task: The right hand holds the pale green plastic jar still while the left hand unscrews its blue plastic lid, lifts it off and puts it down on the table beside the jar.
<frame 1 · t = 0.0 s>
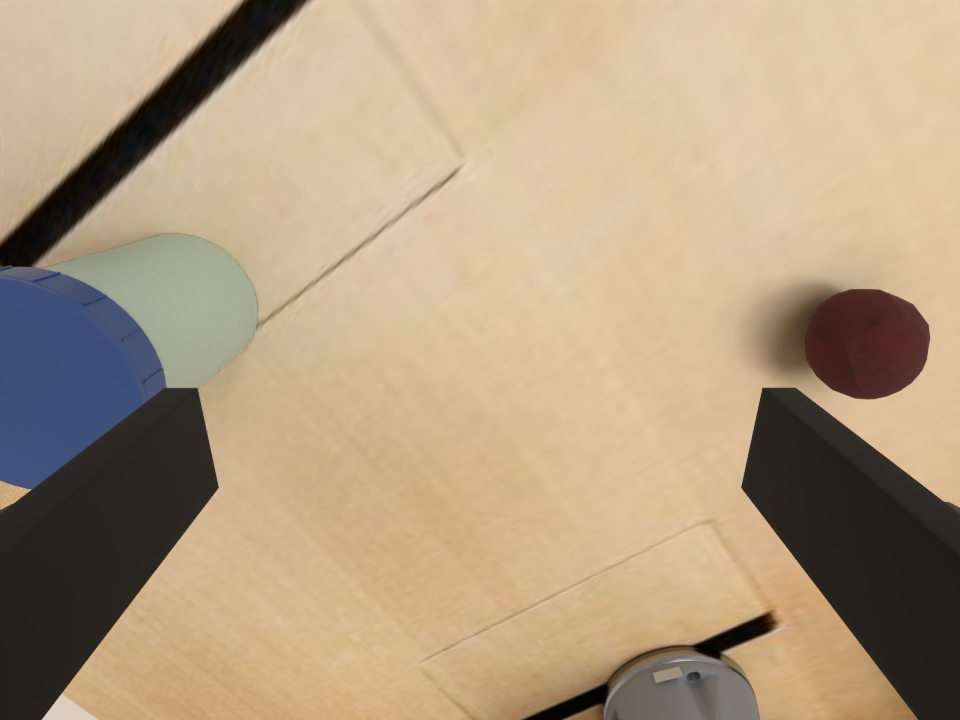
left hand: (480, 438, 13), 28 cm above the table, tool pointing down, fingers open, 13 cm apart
lid: (28, 390, 26), point 16 cm above the table, screwed on, not yet turned
dark red ball: (832, 325, 41), on the table
jar: (189, 302, 40), on the table
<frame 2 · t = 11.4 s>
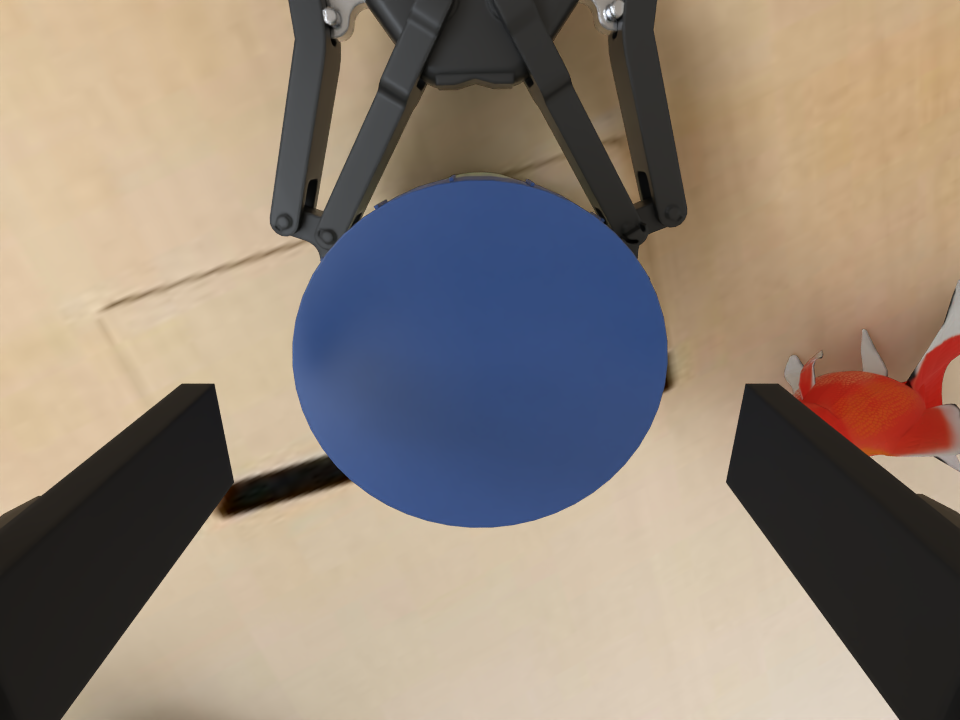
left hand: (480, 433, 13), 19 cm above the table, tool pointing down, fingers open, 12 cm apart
right hand: (481, 376, 27), fingers closed on jar, 10 cm apart
fish: (856, 351, 33), on the table
lid: (480, 371, 17), point 16 cm above the table, screwed on, not yet turned
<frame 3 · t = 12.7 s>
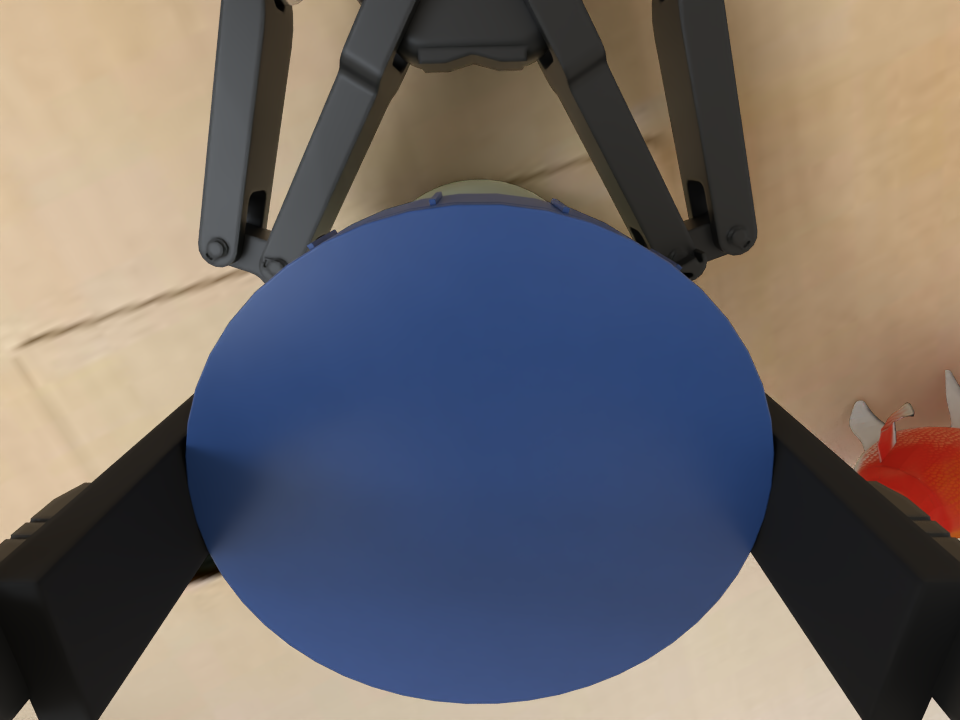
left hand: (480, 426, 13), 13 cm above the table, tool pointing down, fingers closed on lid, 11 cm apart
fish: (935, 395, 27), on the table
lid: (479, 493, 11), point 16 cm above the table, screwed on, not yet turned, touching left hand
jar: (479, 294, 25), on the table, touching right hand
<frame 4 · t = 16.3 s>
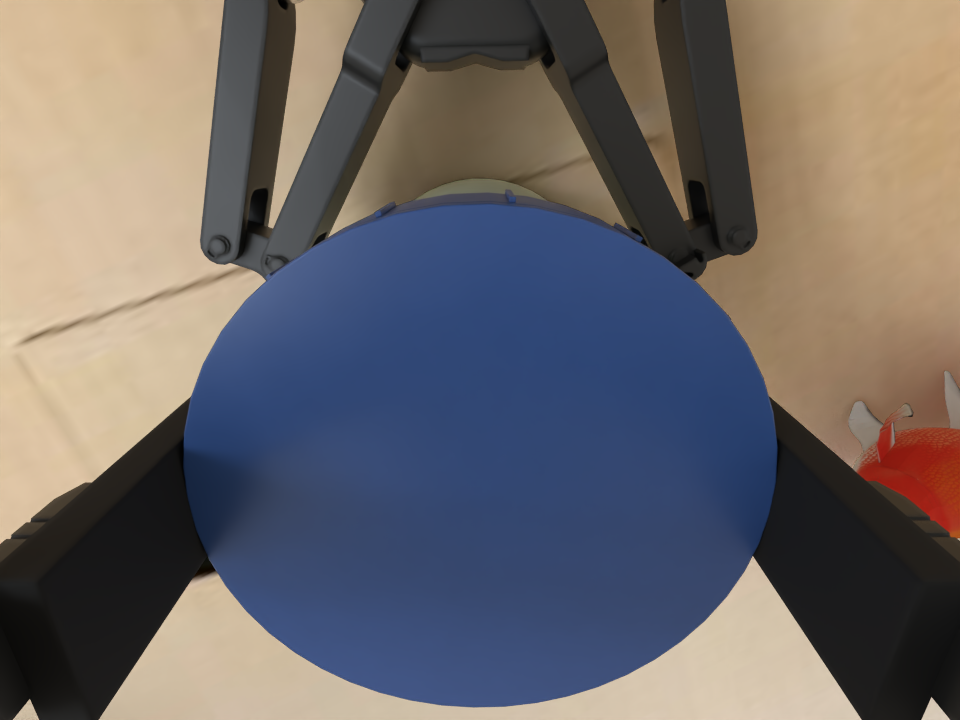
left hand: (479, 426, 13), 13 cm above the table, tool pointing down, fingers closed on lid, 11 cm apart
fish: (934, 396, 27), on the table
lid: (480, 495, 11), point 16 cm above the table, turned 122° so far, risen 0.2 cm, still on its thread, touching left hand
jar: (480, 293, 25), on the table, touching right hand
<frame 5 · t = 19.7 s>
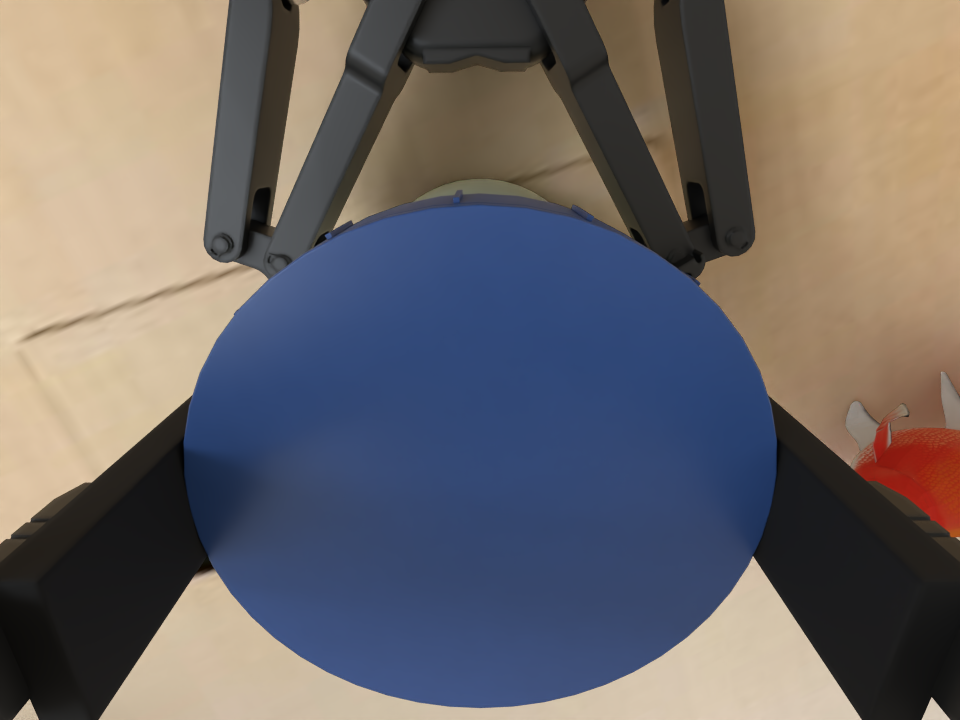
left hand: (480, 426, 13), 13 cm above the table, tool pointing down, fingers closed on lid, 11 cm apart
fish: (931, 397, 27), on the table
lid: (480, 496, 11), point 16 cm above the table, turned 244° so far, risen 0.3 cm, still on its thread, touching left hand
jar: (480, 293, 25), on the table, touching right hand
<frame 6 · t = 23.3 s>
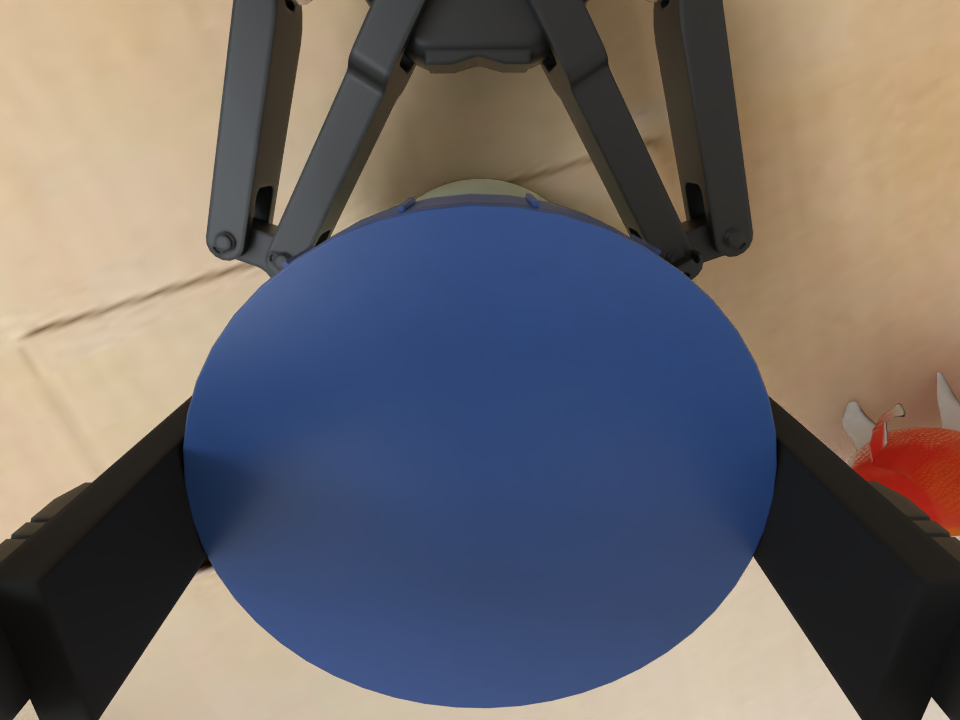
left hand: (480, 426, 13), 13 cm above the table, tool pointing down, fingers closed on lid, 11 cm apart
fish: (927, 397, 28), on the table
lid: (479, 496, 11), point 16 cm above the table, turned 366° so far, risen 0.5 cm, still on its thread, touching left hand
jar: (480, 292, 26), on the table, touching right hand
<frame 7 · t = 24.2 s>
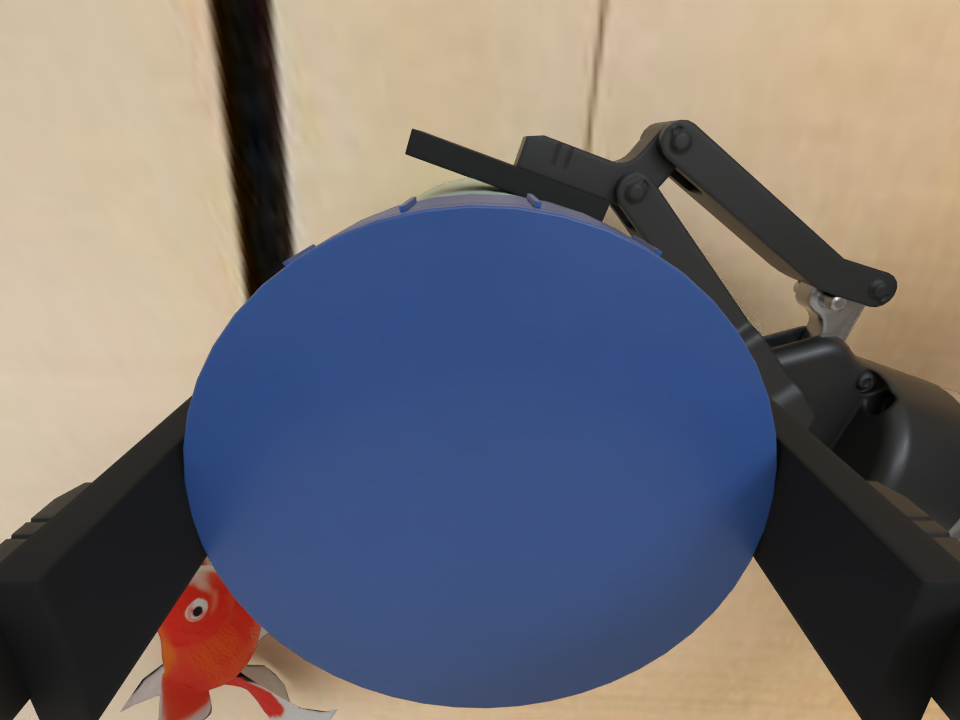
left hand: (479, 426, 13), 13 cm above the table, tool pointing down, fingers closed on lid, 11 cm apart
fish: (269, 606, 33), on the table
lid: (479, 496, 11), point 16 cm above the table, off its thread, touching left hand
jar: (479, 291, 26), on the table, touching right hand
when the left hand's fingers open (0 cm above the table, at t = 30.6 s): lid drops 1 cm, point 2 cm above the table.
when the right hand's fingers open (6 cm above the table, at t = 31.6 s): jar stays where it is, on the table.
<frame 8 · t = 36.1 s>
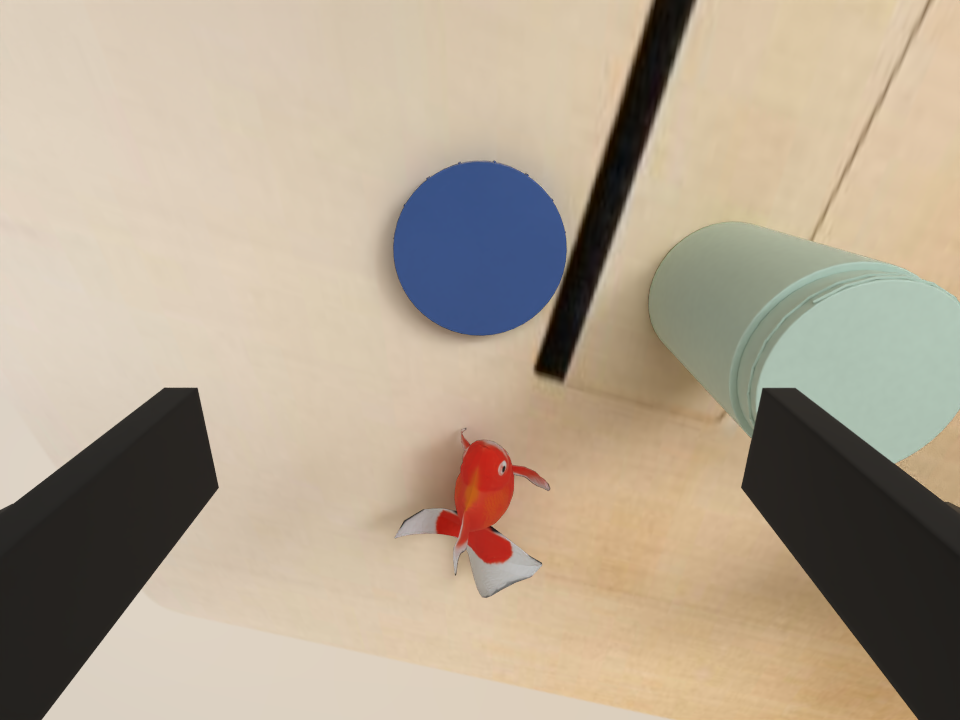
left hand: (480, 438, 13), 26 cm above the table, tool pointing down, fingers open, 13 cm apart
fish: (482, 490, 44), on the table
lid: (479, 252, 35), point 2 cm above the table, off its thread
jar: (720, 295, 38), on the table
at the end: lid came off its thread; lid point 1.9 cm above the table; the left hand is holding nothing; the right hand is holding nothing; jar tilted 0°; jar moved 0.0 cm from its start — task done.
